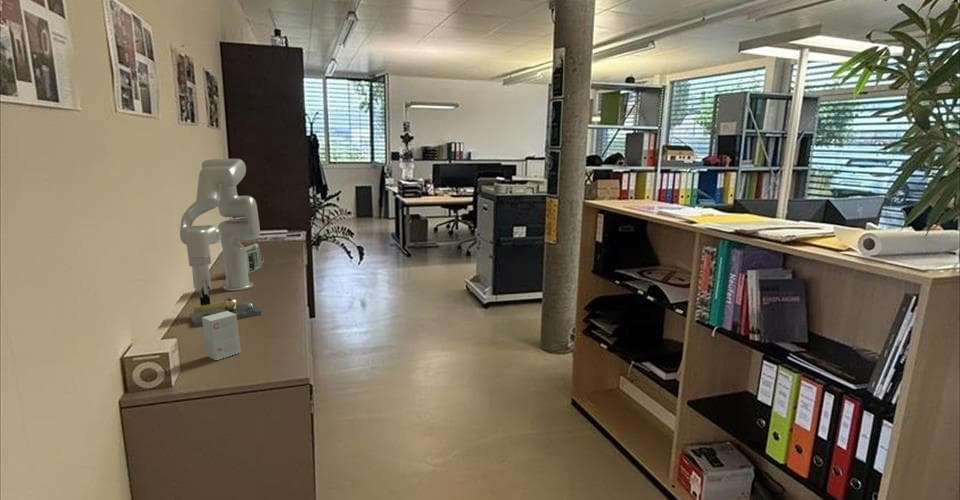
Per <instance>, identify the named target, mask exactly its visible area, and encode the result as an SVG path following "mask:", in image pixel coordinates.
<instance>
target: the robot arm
mask: <svg viewBox="0 0 960 500" xmlns="http://www.w3.org/2000/svg"><path fill="white" fill-rule="evenodd" d="M246 172H247V166H246V163H245V162H244V161H243V160H242V159H241V158H211V159H206V160H204V161H202V163H201V169H200V171H199V174H198V181H197V191H196V200H195V201H194V202H193V203H192V204H191V205H190V206H189V207H188V208H187V209H186V211H185V212H184V213H183V214H182V217H181V221H180V227H179V228H180V229H179V238H180V241H181V242H182V244H184V245H186V250H187V252H186V253H187V258H188V265H189V267H191V271H192V280H193V288H194V290H195V291H196V292H197V293H199V302H200V304H199V305H205V304H210V303H211V299H210V298H211V297H210V292H209V291H210V290H212V284H211V274H210V268H209V266H210V265H211V264H212V259H211V258H212V257H211V250H210V245H216V244H217V243H219V242H220V244H221V248H222V255H223V257H222V258H223V264H224V273H225V280H226V284H225V285H223V287H222V288H223V290H224V291H227V292H228V291H230V292H231V291H232V292H233V291H243V290H248V289H251V288H252V287H253V286H254V284H253V282H252V281H250V277H249V274H248V268H247V259H246V250H245V248H244V247H245V246H244V245H243V244H242V243H241V241H255V240H258V239H259V238H260V235H261V229H260V218H259V211H258V205H257V201H256V199H255V198H254V197H252V196H250V195H239V194H238V190H237V189H238V188H237V186H238V185H239V183H241V181H243V178H245V176H246ZM217 207H218V213H219V215H220V216H221V217H223V218H245V219H226V220H223V221H220V223H218V225H212V224H211V225H209V224H208V225H207V224H206V225H203V224H202V225H200V224H199V225H193V224H194V222H195V220H196V219H197V218H198V217H200V216H202V215H204V214H205V213H208V212H210V211H211V210H214V209H216V208H217Z"/></svg>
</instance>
